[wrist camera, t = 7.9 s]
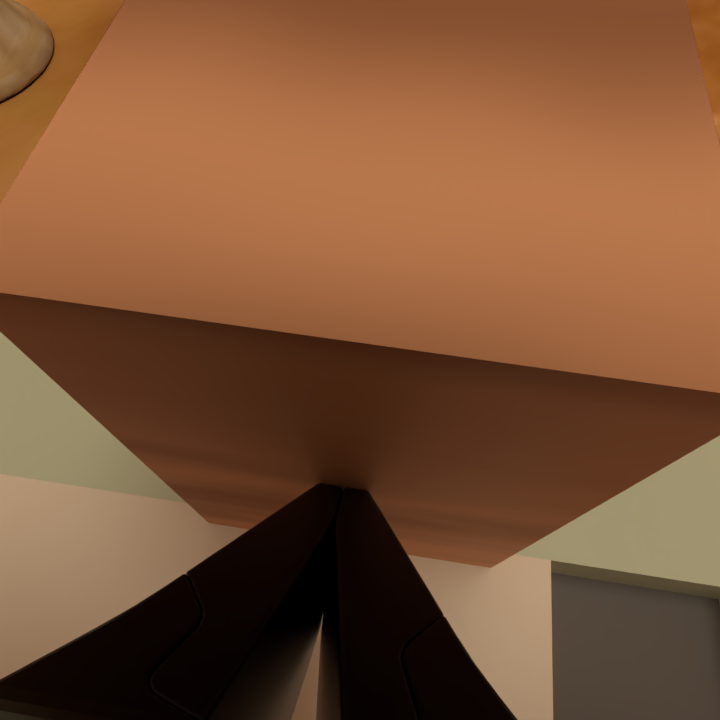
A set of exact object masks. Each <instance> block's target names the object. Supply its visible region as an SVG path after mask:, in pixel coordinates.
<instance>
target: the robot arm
mask: <svg viewBox="0 0 720 720" xmlns="http://www.w3.org/2000/svg"><path fill="white" fill-rule="evenodd" d="M322 617H323V620H322ZM321 622H322V628H321V640H320V656H319V675H318V693H317V712H316V720H518V719H517V718H516V717H515V716H514V714H513V713H512V712H511V710H510V709H509V708H508V707H507V705H506V704H505V703H504V702H503V700H502V699H501V698H500V696H499V695H498V694H497V692H496V691H495V690H494V688H493V687H492V686H491V684H490V683H489V682H488V680H487V679H486V678H485V676H484V675H483V674H482V672H481V671H480V669H479V668H478V667H477V665H476V664H475V663H474V661H473V660H472V658H471V657H470V655H469V653H468V652H467V650H466V649H465V647H464V646H463V644H462V643H461V641H460V640H459V638H458V637H457V635H456V633H455V632H454V630H453V629H452V627H451V625H450V624H449V622H448V620H447V619H446V617H444V615H443V612H442V611H441V609H440V607H439V606H438V604H437V602H436V601H435V599H434V598H433V596H432V594H431V593H430V591H429V589H428V588H427V586H426V584H425V583H424V581H423V579H422V578H421V576H420V574H419V573H418V571H417V569H416V568H415V566H414V565H413V563H412V561H411V560H410V558H409V556H408V555H407V553H406V551H405V550H404V548H403V546H402V545H401V543H400V541H399V540H398V538H397V537H396V535H395V533H394V532H393V530H392V528H391V527H390V525H389V523H388V522H387V520H386V518H385V517H384V515H383V513H382V512H381V510H380V509H379V507H378V505H377V504H376V502H375V500H374V499H373V497H372V495H371V494H370V492H369V491H367V490H363V489H357V488H350V487H346V488H345V489H344V490H343V489H342V488H341V487H340V486H337V485H330V484H324V483H318V484H316V485H315V486H313V487H312V488H310V489H309V490H307V491H306V492H304V493H303V494H301V495H300V496H298V497H297V498H295V499H294V500H292V501H291V502H289V503H288V504H286V505H285V506H284V507H282V508H281V509H279V510H278V511H276V512H275V513H273V514H272V515H270V516H269V517H267V518H266V519H264V520H263V521H261V522H260V523H258V524H257V525H255V526H254V527H252V528H251V529H249V530H248V531H246V532H245V533H243V534H242V535H240V536H239V537H237V538H236V539H235V540H233V541H232V542H230V543H229V544H227V545H226V546H224V547H223V548H221V549H220V550H218V551H217V552H215V553H214V554H212V555H211V556H209V557H208V558H206V559H205V560H203V561H202V562H200V563H199V564H197V565H196V566H194V567H193V568H191V569H190V570H188V571H187V573H186V574H182V575H181V576H179V577H178V578H176V579H175V580H173V581H172V582H170V583H169V584H167V585H166V586H164V587H163V588H161V589H160V590H158V591H156V592H155V593H153V594H152V595H150V596H149V597H147V598H145V599H144V600H142V601H141V602H139V603H138V604H136V605H134V606H133V607H131V608H129V609H128V610H126V611H124V612H122V613H121V614H119V615H117V616H115V617H113V618H112V619H110V620H108V621H106V622H105V623H103V624H101V625H99V626H98V627H96V628H94V629H92V630H90V631H89V632H87V633H85V634H83V635H81V636H79V637H78V638H76V639H74V640H72V641H70V642H68V643H66V644H65V645H63V646H61V647H59V648H57V649H55V650H53V651H52V652H50V653H48V654H46V655H44V656H42V657H41V658H39V659H37V660H35V661H33V662H31V663H29V664H28V665H26V666H24V667H22V668H20V669H18V670H16V671H15V672H13V673H11V674H9V675H7V676H5V677H4V678H2V679H0V720H291V719H292V716H293V713H294V710H295V707H296V703H297V700H298V697H299V694H300V691H301V688H302V685H303V682H304V678H305V675H306V672H307V669H308V666H309V663H310V660H311V657H312V654H313V650H314V647H315V644H316V641H317V637H318V634H319V630H320V627H321Z"/></svg>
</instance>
